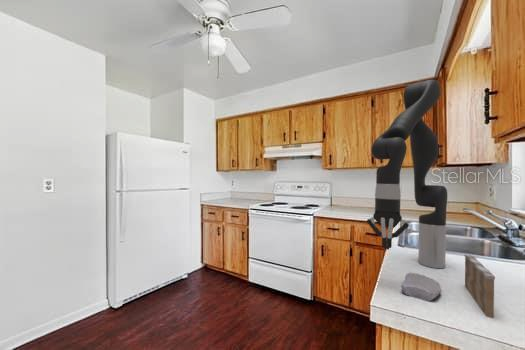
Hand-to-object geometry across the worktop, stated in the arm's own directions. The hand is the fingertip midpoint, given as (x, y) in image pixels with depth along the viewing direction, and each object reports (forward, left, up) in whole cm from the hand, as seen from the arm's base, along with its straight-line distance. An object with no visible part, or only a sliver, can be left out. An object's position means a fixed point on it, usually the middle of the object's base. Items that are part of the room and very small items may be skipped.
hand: (386, 248), depth 80 cm
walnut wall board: (-3, +24, -12) cm, 27 cm away
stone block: (0, +10, -13) cm, 16 cm away
